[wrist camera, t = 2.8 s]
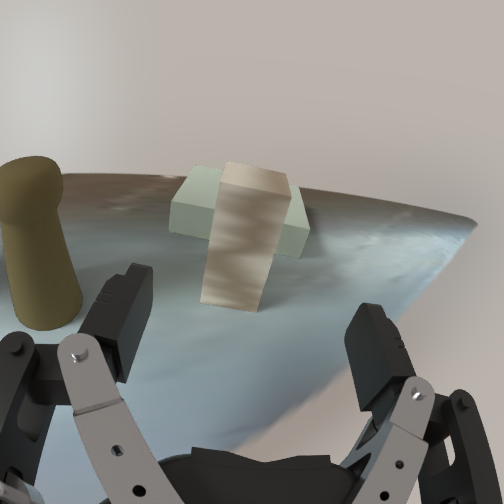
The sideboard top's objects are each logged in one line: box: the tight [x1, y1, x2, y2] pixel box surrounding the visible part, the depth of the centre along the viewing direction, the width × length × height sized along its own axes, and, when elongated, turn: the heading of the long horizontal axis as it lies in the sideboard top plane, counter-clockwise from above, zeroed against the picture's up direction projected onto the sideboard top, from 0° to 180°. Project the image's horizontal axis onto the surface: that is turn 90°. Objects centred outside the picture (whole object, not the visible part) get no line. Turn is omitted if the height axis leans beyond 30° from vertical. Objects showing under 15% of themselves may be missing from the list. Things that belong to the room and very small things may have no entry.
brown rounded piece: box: [0, 156, 83, 331], centre depth 16 cm, size 6×6×11 cm
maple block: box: [200, 162, 292, 312], centre depth 23 cm, size 4×4×10 cm
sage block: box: [169, 165, 310, 258], centre depth 36 cm, size 14×12×4 cm
